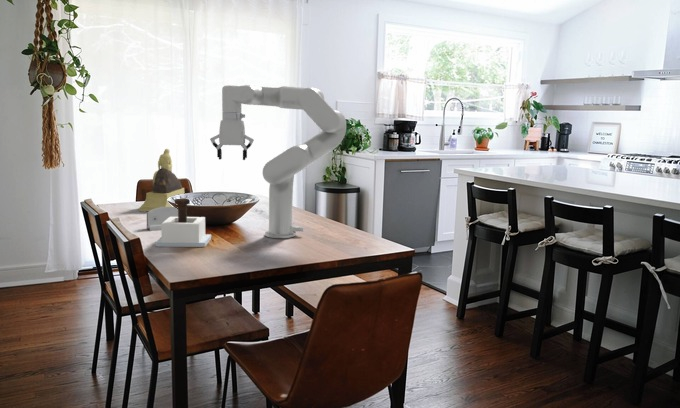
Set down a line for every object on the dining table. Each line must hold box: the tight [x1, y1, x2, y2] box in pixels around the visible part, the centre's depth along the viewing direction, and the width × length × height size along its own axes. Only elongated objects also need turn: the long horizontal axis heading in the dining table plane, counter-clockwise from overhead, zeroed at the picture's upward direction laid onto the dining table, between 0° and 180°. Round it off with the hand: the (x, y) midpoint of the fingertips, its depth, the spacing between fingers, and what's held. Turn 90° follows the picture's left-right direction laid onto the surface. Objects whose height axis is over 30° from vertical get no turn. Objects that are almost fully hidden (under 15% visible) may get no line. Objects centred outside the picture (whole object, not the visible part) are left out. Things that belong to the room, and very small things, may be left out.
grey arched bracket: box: [146, 207, 178, 232], centre depth 231 cm, size 17×5×10 cm, turn 125°
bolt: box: [175, 198, 191, 223], centre depth 205 cm, size 6×5×15 cm
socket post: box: [155, 216, 212, 248], centre depth 206 cm, size 18×14×8 cm
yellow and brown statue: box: [138, 148, 185, 212], centre depth 275 cm, size 28×13×30 cm, turn 174°
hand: (232, 159), depth 220 cm, fingers open, 9 cm apart
